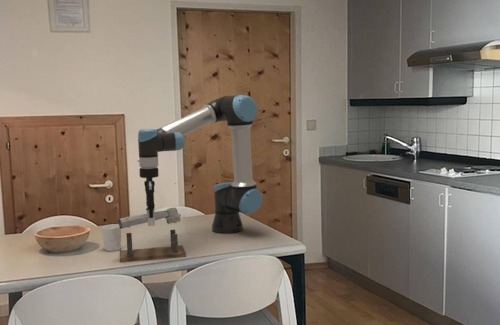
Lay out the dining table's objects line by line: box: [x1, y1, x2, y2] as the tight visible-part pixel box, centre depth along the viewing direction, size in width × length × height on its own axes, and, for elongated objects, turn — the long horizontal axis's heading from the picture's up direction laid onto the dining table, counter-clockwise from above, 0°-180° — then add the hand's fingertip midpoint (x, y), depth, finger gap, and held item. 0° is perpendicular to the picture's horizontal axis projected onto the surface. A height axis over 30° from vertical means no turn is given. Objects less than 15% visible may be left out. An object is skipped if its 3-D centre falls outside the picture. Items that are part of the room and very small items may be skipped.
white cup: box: [101, 223, 122, 252], centre depth 236 cm, size 8×8×10 cm
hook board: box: [119, 229, 187, 263], centre depth 226 cm, size 26×12×9 cm, turn 103°
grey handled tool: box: [117, 207, 182, 230], centre depth 224 cm, size 5×7×25 cm
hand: (151, 223), depth 225 cm, fingers closed on grey handled tool, 5 cm apart
